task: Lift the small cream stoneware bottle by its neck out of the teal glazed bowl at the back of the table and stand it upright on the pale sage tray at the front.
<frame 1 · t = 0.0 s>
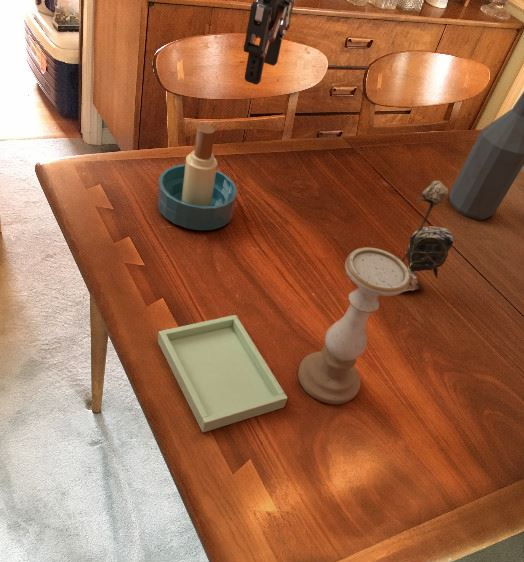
hand: (260, 72, 82), 25 cm above the table, tool pointing down, fingers open, 8 cm apart
candle holder: (327, 380, 77), on the table
stoneware bottle: (195, 207, 97), point 1 cm above the table, touching bowl
tray: (219, 373, 74), on the table
plant with pod: (400, 281, 96), on the table
bowl: (195, 210, 98), on the table
bottle: (469, 207, 119), on the table
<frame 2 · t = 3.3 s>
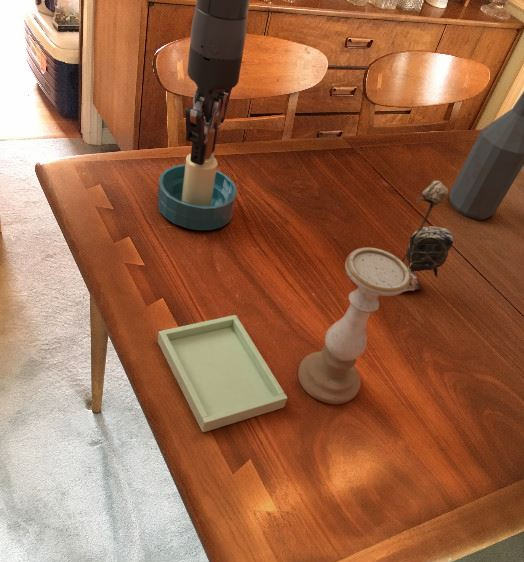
hand: (202, 156, 90), 10 cm above the table, tool pointing down, fingers closed on stoneware bottle, 3 cm apart
stoneware bottle: (195, 207, 97), point 1 cm above the table, touching bowl, gripper
everything else where it was.
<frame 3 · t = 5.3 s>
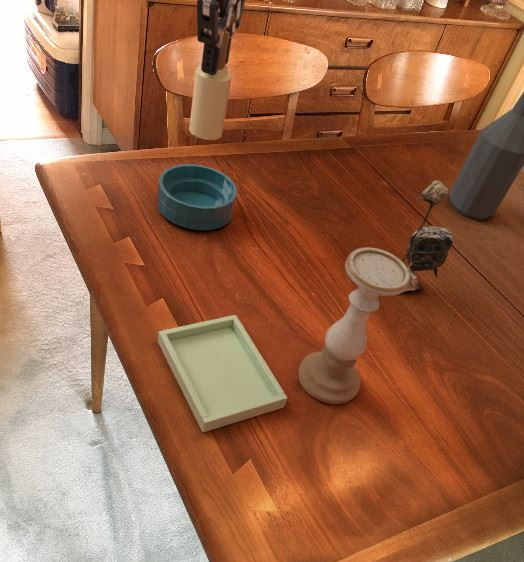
hand: (214, 67, 79), 25 cm above the table, tool pointing down, fingers closed on stoneware bottle, 3 cm apart
stoneware bottle: (205, 131, 87), point 15 cm above the table, touching gripper
everything else where it was.
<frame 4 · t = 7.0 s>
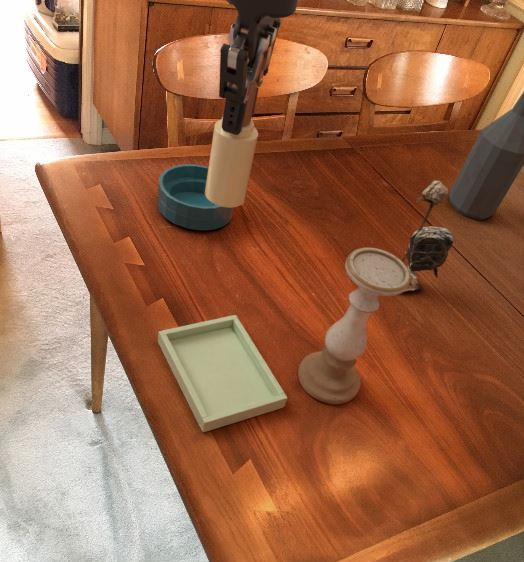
hand: (237, 123, 64), 27 cm above the table, tool pointing down, fingers closed on stoneware bottle, 4 cm apart
stoneware bottle: (224, 195, 71), point 17 cm above the table, touching gripper
everything else where it was.
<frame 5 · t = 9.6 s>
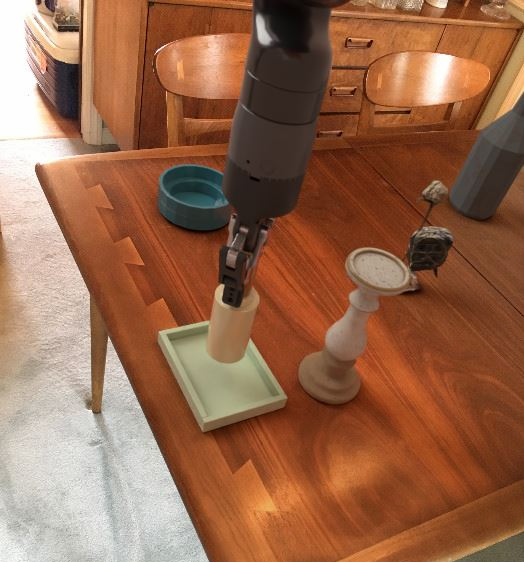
hand: (237, 291, 63), 15 cm above the table, tool pointing down, fingers closed on stoneware bottle, 4 cm apart
stoneware bottle: (225, 348, 70), point 5 cm above the table, touching gripper
everything else where it was.
when the fingers open (10 cm above the table, at t = 11.1 s): stoneware bottle stays where it is, resting on tray.
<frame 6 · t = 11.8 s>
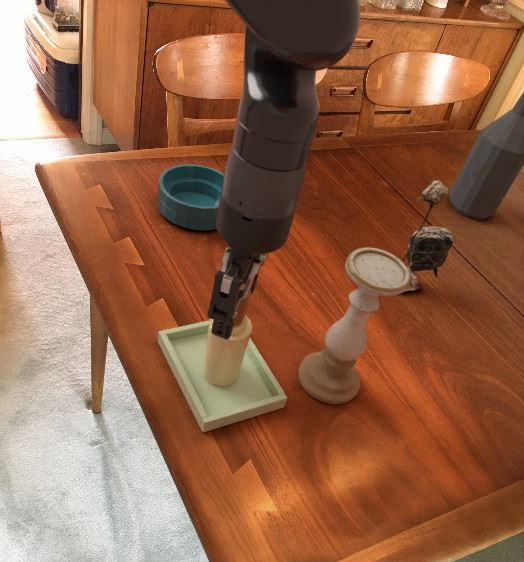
hand: (233, 312, 66), 12 cm above the table, tool pointing down, fingers open, 8 cm apart
stoneware bottle: (220, 371, 74), point 1 cm above the table, touching tray
everything else where it was.
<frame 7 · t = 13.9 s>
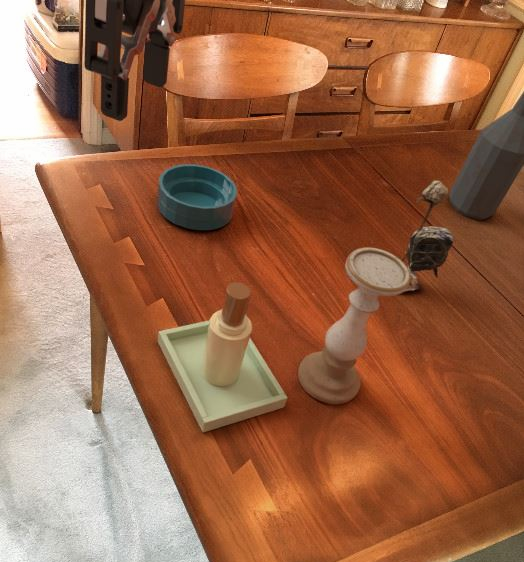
hand: (135, 99, 52), 32 cm above the table, tool pointing down, fingers open, 8 cm apart
nothing on the table moved.
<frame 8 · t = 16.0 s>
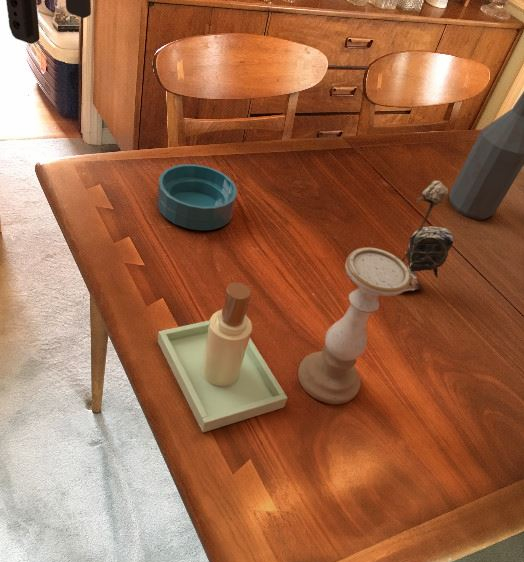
hand: (53, 26, 50), 36 cm above the table, tool pointing down, fingers open, 8 cm apart
nothing on the table moved.
at the end: stoneware bottle inside the target area in the tray (0.0 cm from its centre), point 0.6 cm above the tray's base; stoneware bottle tilted 0°; stoneware bottle touching tray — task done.
